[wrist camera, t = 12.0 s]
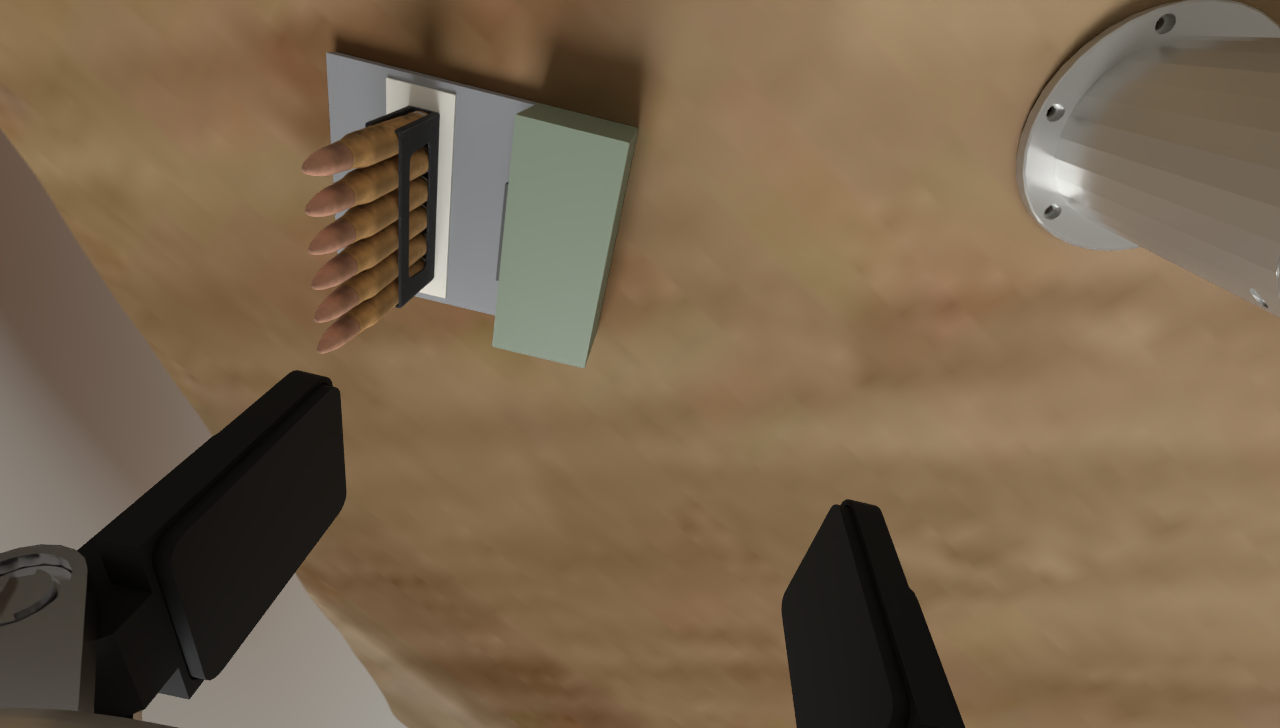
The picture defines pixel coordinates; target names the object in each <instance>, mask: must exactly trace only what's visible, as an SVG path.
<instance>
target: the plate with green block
mask: <svg viewBox="0 0 1280 728" xmlns="http://www.w3.org/2000/svg"><path fill="white" fill-rule="evenodd" d="M326 59H327V77H328V95H329V112H330V130H331V144H332V143H334V142H336V141H339V140H340V139H341V138H343V137H344V136H345V135H346V134H348V133H351V132H354V131H357V130H360V129H363V128H365V123H366V122H369V121H371V120H374V119H376V118H379V117H382V116H384V115H387V114H389V113H392V112H394V111H397V110H399V109H401V108H404V107H406V106H409V105H410V106H414V107H418V108H422V109H426V110H430V111H434V112H438V113H439V114H440V126H439V155H438V183H437V212H436V241H435V269H434V279H433V280H432V281H431V282H430V283H429V284H427V285H426V286H425V287H424V288H423V289H422V290H420V291H419V292H418V293H417V294H416V295H415V296H416V297H420V298H424V299H428V300H432V301H437V302H441V303H445V304H449V305H453V306H458V307H462V308H466V309H470V310H474V311H479V312H483V313H487V314H491V315H495V323H494V333H493V343H492V347H496V348H500V349H504V350H509V351H513V352H517V353H521V354H526V355H530V356H534V357H538V358H542V359H547V360H551V361H555V362H559V363H564V364H568V365H572V366H576V367H581V368H585V365H586V362H587V359H588V357H589V354H590V351H591V348H592V345H593V342H594V339H595V336H596V333H597V328H598V323H599V318H600V314H601V309H602V304H603V299H604V294H605V289H606V284H607V280H608V275H609V270H610V265H611V260H612V255H613V250H614V245H615V241H616V236H617V231H618V226H619V221H620V216H621V211H622V207H623V202H624V197H625V192H626V187H627V182H628V177H629V172H630V168H631V163H632V158H633V153H634V148H635V143H636V138H637V133H638V129H639V128H637V127H633V126H629V125H625V124H621V123H617V122H613V121H609V120H605V119H601V118H597V117H593V116H589V115H585V114H581V113H577V112H573V111H569V110H565V109H561V108H557V107H554V106H550V105H546V104H542V103H538V102H534V101H530V100H526V99H522V98H518V97H514V96H510V95H506V94H502V93H498V92H494V91H490V90H486V89H482V88H478V87H474V86H470V85H466V84H462V83H458V82H454V81H450V80H446V79H442V78H438V77H434V76H430V75H426V74H422V73H418V72H414V71H410V70H406V69H402V68H398V67H394V66H390V65H386V64H382V63H378V62H374V61H370V60H366V59H362V58H358V57H354V56H351V55H347V54H343V53H339V52H327V53H326ZM354 169H357V168H354ZM354 169H351V170H348V171H343V172H340V173H337V174H333V183H335V182H337V181H339V180H340V179H342V178H343V177H344V176H345V175H346V174H347V173H348V172H350V171H352V170H354ZM347 210H348V209H346V210H344V211H342V212H339V213H336V214H335V219H336V220H337V219H338V218H340V217H341V216H343V215H344V213H345V212H346V211H347ZM344 248H345V247H344ZM344 248H342V249H340V250H337V254H338V253H340V252H341V251H342V250H344Z"/></svg>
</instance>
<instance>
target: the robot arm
mask: <svg viewBox="0 0 1280 728" xmlns="http://www.w3.org/2000/svg"><path fill="white" fill-rule="evenodd" d="M1157 21H1158V24H1157V26H1156V23H1157ZM1155 26H1156V27H1155ZM1050 107H1051V112H1050V113H1049V114H1048V115H1046V114H1047V111H1048V109H1049V108H1050ZM1016 179H1017V184H1018V188H1019V192H1020V197H1021V199H1022V201H1023V203H1024V205H1025V207H1026V209H1027V211H1028V213H1029V214H1030V216H1031V217H1032V218H1033V219H1034V220H1035V221H1036V222H1037V223H1038V224H1039V226H1040V227H1042V228H1043V229H1045V230H1046V231H1047V232H1049V233H1050V234H1052V235H1053V236H1055V237H1057V238H1059V239H1061V240H1063V241H1065V242H1067V243H1069V244H1071V245H1073V246H1077V247H1081V248H1085V249H1089V250H1102V251H1117V250H1126V249H1135V248H1139V247H1142V248H1144V249H1146V250H1148V251H1150V252H1152V253H1154V254H1156V255H1158V256H1160V257H1162V258H1164V259H1166V260H1168V261H1170V262H1172V263H1174V264H1176V265H1178V266H1180V267H1181V268H1183V269H1185V270H1187V271H1189V272H1191V273H1193V274H1195V275H1197V276H1199V277H1201V278H1203V279H1205V280H1207V281H1209V282H1211V283H1213V284H1215V285H1217V286H1219V287H1221V288H1223V289H1225V290H1227V291H1229V292H1231V293H1233V294H1235V295H1236V296H1238V297H1240V298H1242V299H1244V300H1246V301H1248V302H1250V303H1252V304H1254V305H1256V306H1258V307H1260V308H1262V309H1264V310H1266V311H1268V312H1270V313H1272V314H1274V315H1276V316H1278V317H1280V26H1279V25H1278V24H1277V23H1276V22H1274V21H1273V20H1272V19H1271V18H1270V17H1268V16H1267V15H1266V14H1265V13H1264V12H1262V11H1261V10H1258V9H1256V8H1253V7H1251V6H1249V5H1246V4H1244V3H1241V2H1237V1H1230V0H1183V1H1177V2H1171V3H1165V4H1161V5H1158V6H1155V7H1152V8H1149V9H1147V10H1144V11H1141V12H1138V13H1135V14H1133V15H1131V16H1129V17H1127V18H1126V19H1124V20H1122V21H1120V22H1118V23H1116V24H1114V25H1112V26H1111V27H1109V28H1107V29H1106V30H1104V31H1103V32H1102V33H1100V34H1099V35H1097V36H1096V37H1095V38H1093V39H1092V40H1091V41H1089V42H1088V43H1086V44H1085V45H1084V46H1082V47H1081V48H1080V49H1079V50H1078V51H1077V52H1076V53H1075V54H1074V55H1073V56H1072V57H1071V58H1070V59H1069V60H1068V61H1067V62H1066V63H1065V64H1064V65H1063V66H1062V67H1061V68H1060V69H1059V70H1058V72H1057V73H1056V74H1055V75H1054V77H1053V78H1052V79H1051V81H1050V82H1049V83H1048V84H1047V86H1046V87H1045V88H1044V89H1043V91H1042V93H1041V95H1040V96H1039V98H1038V100H1037V101H1036V103H1035V105H1034V107H1033V108H1032V110H1031V112H1030V114H1029V116H1028V119H1027V122H1026V124H1025V127H1024V129H1023V132H1022V134H1021V138H1020V143H1019V148H1018V153H1017V158H1016ZM1048 207H1049V208H1048ZM1047 208H1048V209H1047ZM1046 209H1047V210H1046ZM1045 210H1046V211H1045ZM345 499H346V477H345V461H344V445H343V429H342V413H341V397H340V391H339V389H338V388H336V387H333V385H332V381H331V380H330V378H327V377H324V376H320V375H316V374H311V373H307V372H303V371H299V370H296V371H292V372H291V373H289V374H288V375H287V376H285V377H284V378H283V379H282V380H281V381H279V382H278V383H277V384H276V385H275V386H274V387H272V388H271V389H270V390H269V391H268V392H266V393H265V394H264V395H263V396H262V397H261V398H259V399H258V400H257V401H256V402H255V403H253V404H252V405H251V406H250V407H249V408H248V409H246V410H245V411H244V412H243V413H242V414H240V415H239V416H238V417H237V418H236V419H235V420H233V421H232V422H231V423H230V424H229V425H227V426H226V427H225V428H224V429H223V430H222V431H220V432H219V433H218V434H216V435H215V436H213V437H211V438H210V439H209V440H208V441H207V442H205V443H204V444H203V445H202V446H201V447H199V448H198V449H197V450H196V451H195V452H194V453H192V454H191V455H190V456H189V457H188V458H186V459H185V460H184V461H183V462H182V463H181V464H179V465H178V466H177V467H176V468H175V469H173V470H172V471H171V472H170V473H169V474H167V475H166V476H165V477H164V478H163V479H162V480H160V481H159V482H158V483H157V484H156V485H154V486H153V487H152V488H151V489H150V490H149V491H147V492H146V493H145V494H144V495H143V496H142V497H140V498H139V499H138V500H137V501H135V503H133V504H132V505H131V506H130V507H128V508H127V509H126V510H125V511H124V512H122V513H121V514H120V515H119V516H118V517H116V518H115V519H114V520H113V521H112V522H111V523H109V524H108V525H107V526H106V527H105V528H104V529H102V530H101V531H100V532H99V533H98V534H96V535H95V536H94V537H93V538H91V539H90V540H89V541H88V542H87V543H86V544H84V545H83V546H82V547H81V548H80V549H78V550H77V551H76V550H75V549H72V548H69V547H65V546H62V545H44V544H40V545H34V546H27V547H20V548H17V549H13V550H10V551H7V552H3V553H0V728H177V727H171V726H166V725H161V724H156V723H150V722H145V721H142V710H144V709H145V708H146V707H147V706H148V705H149V703H150V702H151V701H152V699H153V698H154V697H155V696H156V695H157V693H162V694H167V695H172V696H176V697H180V698H185V699H190V698H191V697H192V695H193V694H194V693H195V691H196V690H197V689H198V687H199V686H200V685H201V683H202V682H203V681H204V680H212V679H214V678H215V677H216V676H217V675H219V673H220V672H221V671H222V670H223V669H224V667H225V666H226V665H227V663H228V662H229V661H230V659H231V658H232V657H233V655H234V654H235V653H236V651H237V650H238V649H239V647H240V646H241V644H242V643H243V642H244V640H245V639H246V638H247V636H248V635H249V634H250V632H251V631H252V630H253V628H254V627H255V626H256V624H257V623H258V622H259V620H260V619H261V618H262V616H263V615H264V613H265V612H266V610H267V609H268V608H269V607H270V605H271V604H272V603H273V601H274V600H275V599H276V597H277V596H278V595H279V593H280V592H281V591H282V589H283V588H284V587H285V585H286V584H287V583H288V581H289V580H290V578H291V577H292V576H293V574H294V573H295V572H296V570H297V569H298V568H299V566H300V565H301V564H302V562H303V561H304V560H305V558H306V557H307V556H308V554H309V553H310V552H311V550H312V549H313V548H314V546H315V545H316V544H317V542H318V541H319V539H320V538H321V537H322V535H323V534H324V533H325V531H326V530H327V529H328V527H329V526H330V525H331V523H332V522H333V521H334V519H335V518H336V517H337V515H338V514H339V512H340V511H341V509H342V507H343V505H344V502H345ZM782 619H783V627H784V634H785V642H786V649H787V657H788V664H789V672H790V679H791V687H792V694H793V702H794V710H795V717H796V725H797V728H965V726H964V723H963V720H962V718H961V715H960V712H959V710H958V707H957V704H956V702H955V699H954V696H953V694H952V691H951V688H950V685H949V683H948V680H947V677H946V675H945V672H944V669H943V667H942V664H941V661H940V659H939V656H938V653H937V650H936V648H935V645H934V642H933V640H932V637H931V634H930V632H929V629H928V626H927V624H926V621H925V618H924V615H923V613H922V610H921V607H920V605H919V602H918V600H917V598H916V596H915V594H914V592H913V591H912V590H911V589H910V588H909V586H908V583H907V580H906V578H905V575H904V572H903V569H902V567H901V564H900V561H899V558H898V556H897V553H896V550H895V547H894V545H893V542H892V539H891V536H890V534H889V531H888V528H887V525H886V523H885V520H884V517H883V514H882V512H881V510H880V508H879V507H877V506H875V505H870V504H866V503H862V502H858V501H853V500H845V501H843V502H842V504H841V505H833V506H832V507H831V509H830V510H829V512H828V514H827V516H826V518H825V520H824V521H823V523H822V525H821V527H820V529H819V531H818V532H817V534H816V536H815V538H814V540H813V542H812V544H811V545H810V547H809V549H808V551H807V553H806V555H805V556H804V558H803V560H802V562H801V564H800V566H799V567H798V569H797V571H796V573H795V575H794V577H793V578H792V580H791V582H790V584H789V586H788V588H787V589H786V591H785V593H784V596H783V600H782Z"/></svg>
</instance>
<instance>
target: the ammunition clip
mask: <svg viewBox="0 0 1280 728" xmlns="http://www.w3.org/2000/svg"><path fill="white" fill-rule="evenodd" d="M439 126H440V114H439V113H438V112H434V111H430V110H426V109H422V108H418V107H414V106H410V105H409V106H406V107H404V108H401V109H399V110H397V111H394V112H392V113H389V114H387V115H384V116H382V117H379V118H376V119H374V120H371V121H369V122H366V123H365V128H363V129H360V130H357V131H354V132H351V133H348V134H346V135H345V136H344V137H343V138H341V139H340V140H339V141H336V142H334V143H332V144H331V145H328V146H325V147H323V148H321V149H319V150H317V151H316V152H314V153H313V154H312V155H310V156H309V157H308V158H307V159H306V160H305V162H304V163H303V165H302V168H301V170H302V172H303V173H305V174H308V175H312V176H328V175H333V174H337V173H340V172H343V171H348V170H351V169H354V168H357V169H354V170H352V171H350V172H348V173H347V174H346V175H345V176H344V177H343V178H342V179H340V180H339V181H337V182H335V183H333V184H332V185H330V186H328V187H326V188H324V189H323V190H321V191H320V192H319V193H317V194H316V195H315V196H314V197H313V198H312V199H311V200H310V201H309V203H308V204H307V206H306V209H305V213H306V214H307V215H309V216H315V217H320V216H329V215H332V214H336V213H339V212H342V211H344V210H346V209H348V210H347V211H346V212H345V213H344V215H343V216H341V217H340V218H338V219H337V220H335V221H334V222H333V223H331V224H330V225H328V226H327V227H325V228H324V229H323V230H322V231H320V232H319V233H318V234H317V235H316V237H315V238H314V239H313V240H312V242H311V243H310V246H309V249H308V252H309V253H310V254H314V255H322V254H327V253H331V252H334V251H337V250H340V249H342V248H344V247H345V248H344V250H342V251H341V252H340V253H338V254H337V255H336V256H335V257H334V258H332V259H331V260H329V261H328V262H327V263H326V264H325V265H324V266H323V267H322V268H321V269H320V270H319V271H318V272H317V274H316V275H315V277H314V279H313V281H312V284H311V287H312V288H313V289H315V290H321V289H327V288H330V287H333V286H336V285H338V284H341V283H342V284H341V285H340V286H339V287H338V288H337V289H336V290H335V291H333V292H332V293H331V294H330V295H329V296H328V297H327V298H326V299H325V300H324V301H323V302H322V303H321V305H320V306H319V308H318V309H317V311H316V314H315V317H314V321H315V322H318V323H320V322H326V321H330V320H333V319H335V318H338V317H339V319H338V320H337V321H336V322H334V323H333V324H332V325H331V326H330V327H329V328H328V329H327V331H326V332H325V333H324V334H323V336H322V338H321V339H320V341H319V344H318V346H317V352H318V353H327V352H330V351H333V350H335V349H337V348H339V347H341V346H343V345H344V344H346V343H347V342H349V341H350V340H351V339H352V338H354V337H355V336H356V335H358V334H359V333H360V332H362V331H363V330H364V329H366V328H368V327H370V326H372V325H374V324H375V323H376V322H377V321H379V320H380V319H381V318H382V317H383V316H384V315H385V314H386V313H387V312H388V311H390V310H391V309H392V308H393V307H394V306H395V305H396V304H397V303H398V302H399V303H398V304H397V305H396V306H395V307H396V308H401V307H402V306H404V305H405V304H406V303H407V302H408V301H409V300H410V299H411V298H413V297H414V296H415V295H416V294H417V293H418V292H419V291H420V290H422V289H423V288H424V287H425V286H426V285H427V284H429V283H430V282H431V281H432V280H433V279H434V269H435V241H436V212H437V183H438V155H439Z"/></svg>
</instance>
